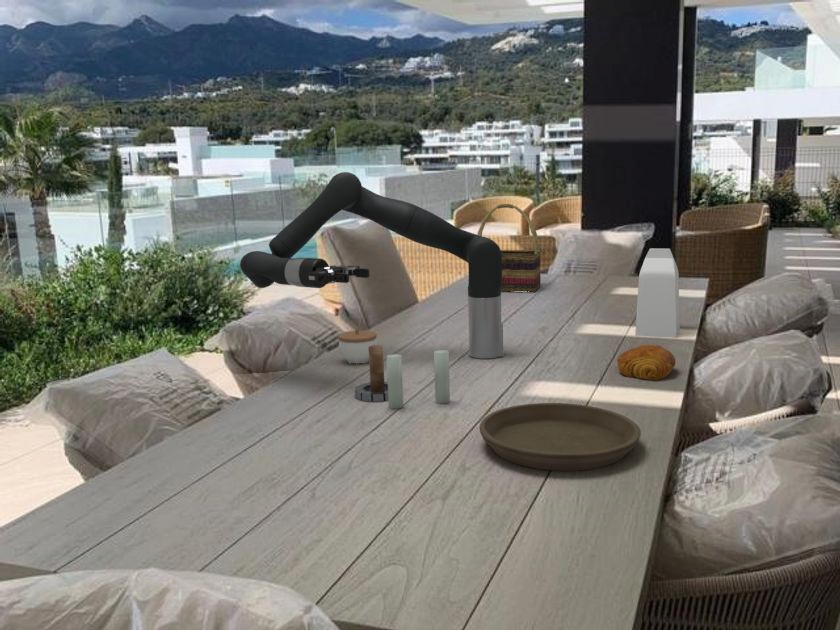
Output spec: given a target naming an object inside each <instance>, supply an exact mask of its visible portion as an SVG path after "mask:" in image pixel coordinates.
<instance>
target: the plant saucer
mask: <svg viewBox="0 0 840 630" xmlns="http://www.w3.org/2000/svg"><path fill="white" fill-rule="evenodd" d="M478 428H479V432H480V434H481V437H482V438H483V441H484V442H485V443H486V444H487V445H488V446H490V447H491V450H493V452H494V453H495V454H496V455H498V456H499V457H500V458H502V459H503V460H506V461H508V462H510V463H513V464H516V465H519V466H524V467H526V468H530V469H531V468H532V469H538V470H545V471H558V472H560V471H561V472H562V471H563V472H567V471H568V472H569V471H571V472H572V471H573V472H574V471H585V470H592V469H593V470H594V469H598V468H602V467H605V466H609V465H612V464H614V463H616V462H618V461H620V460H621V459H623V458H624V457H625V456H626V454H627V453H629V452H630V451H631V450H632V449H633V448H635V447H636V444H637V443H638V442H639V441H640V438H641V435H642V433H641V428H640V427H639V425H638V424H637V423H636V422H635V421H634V420H632V419H630V418H629V417H626V416H625V415H623V414H620V413H618V412H615V411H612V410H608V409H605V408H601V407H596V406H592V405H591V406H590V405H583V404H577V403H576V404H575V403H563V402H562V403H561V402H539V403H538V402H537V403H526V404H525V403H524V404H518V405H512V406H509V407H504V408H501V409H498V410H496V411H494V412H492V413H489V414H488V415H487V416H485V417H484V418H483V419H482V421H481V422H480V424H479V427H478Z"/></svg>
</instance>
